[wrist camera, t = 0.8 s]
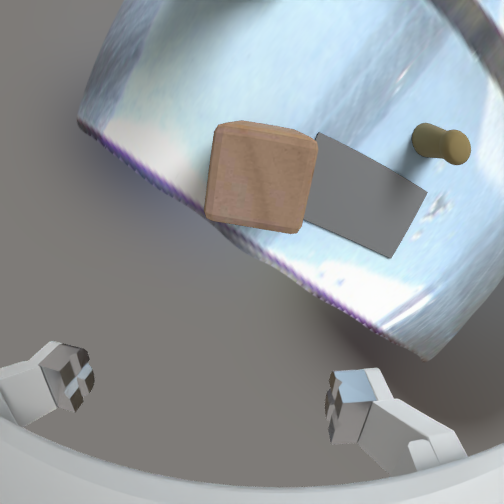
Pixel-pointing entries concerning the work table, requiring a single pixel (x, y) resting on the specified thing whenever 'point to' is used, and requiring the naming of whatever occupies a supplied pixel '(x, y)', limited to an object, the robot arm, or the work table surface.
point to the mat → (360, 198)
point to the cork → (441, 143)
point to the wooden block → (260, 176)
